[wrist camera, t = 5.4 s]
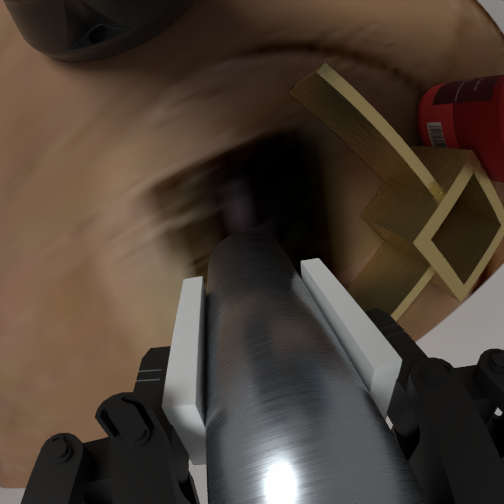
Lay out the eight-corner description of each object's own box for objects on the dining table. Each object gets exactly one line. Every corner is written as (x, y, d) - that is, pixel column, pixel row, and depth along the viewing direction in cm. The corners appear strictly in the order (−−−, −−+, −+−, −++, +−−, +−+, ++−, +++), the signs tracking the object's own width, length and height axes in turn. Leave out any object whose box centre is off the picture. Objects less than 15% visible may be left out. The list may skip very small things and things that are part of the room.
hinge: (171, 243, 21) (153, 285, 14) (322, 55, 18) (365, 21, 11) (339, 350, 26) (369, 402, 19) (455, 204, 23) (510, 223, 16)
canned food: (460, 185, 22) (553, 213, 12) (402, 141, 20) (511, 150, 10) (479, 117, 20) (569, 123, 10) (425, 68, 18) (523, 48, 8)
